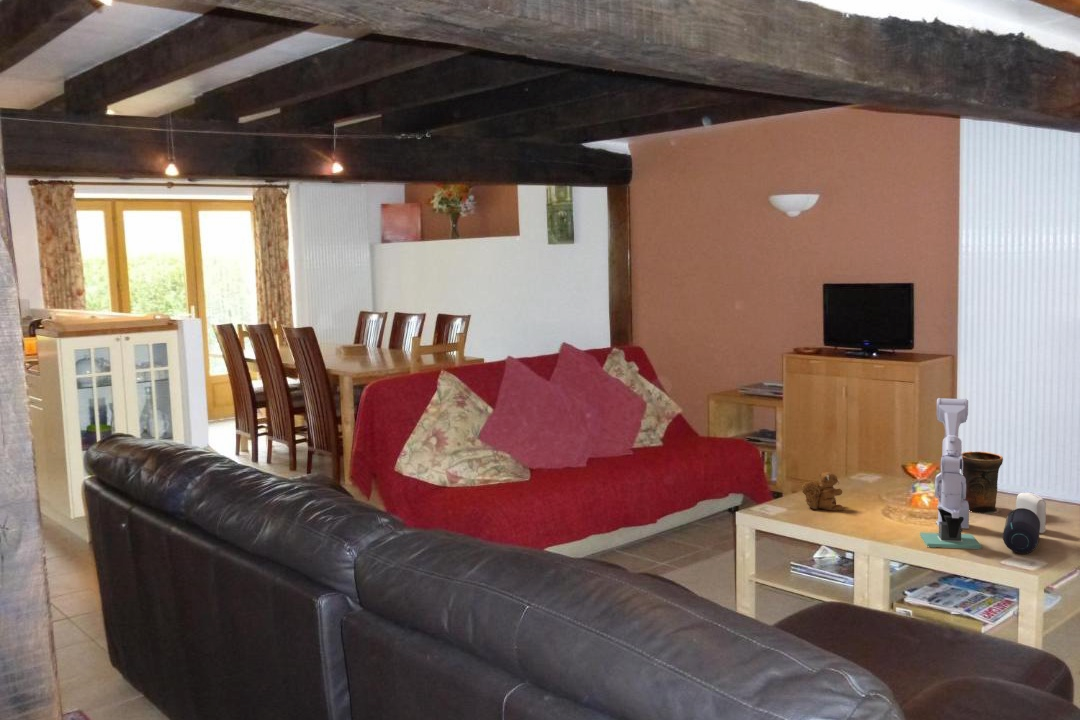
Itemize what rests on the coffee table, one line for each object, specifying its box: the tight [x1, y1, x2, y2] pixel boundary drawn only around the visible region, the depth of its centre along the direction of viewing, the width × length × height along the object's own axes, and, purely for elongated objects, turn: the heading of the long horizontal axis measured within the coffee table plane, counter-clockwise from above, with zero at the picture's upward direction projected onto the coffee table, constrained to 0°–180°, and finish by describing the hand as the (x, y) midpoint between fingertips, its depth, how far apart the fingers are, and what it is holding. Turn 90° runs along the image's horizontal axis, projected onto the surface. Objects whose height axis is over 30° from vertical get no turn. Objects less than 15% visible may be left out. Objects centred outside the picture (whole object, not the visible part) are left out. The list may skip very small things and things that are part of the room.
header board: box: [919, 532, 982, 550], centre depth 305 cm, size 16×12×4 cm
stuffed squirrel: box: [801, 471, 844, 512], centre depth 349 cm, size 10×14×13 cm
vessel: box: [962, 451, 1004, 515], centre depth 342 cm, size 14×14×20 cm
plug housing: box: [938, 522, 962, 541], centre depth 304 cm, size 6×4×5 cm, turn 78°
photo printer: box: [1015, 492, 1047, 534], centre depth 316 cm, size 10×4×12 cm, turn 14°
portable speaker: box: [1002, 508, 1040, 555], centre depth 300 cm, size 25×10×10 cm, turn 151°
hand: (950, 534), depth 305 cm, fingers open, 7 cm apart
